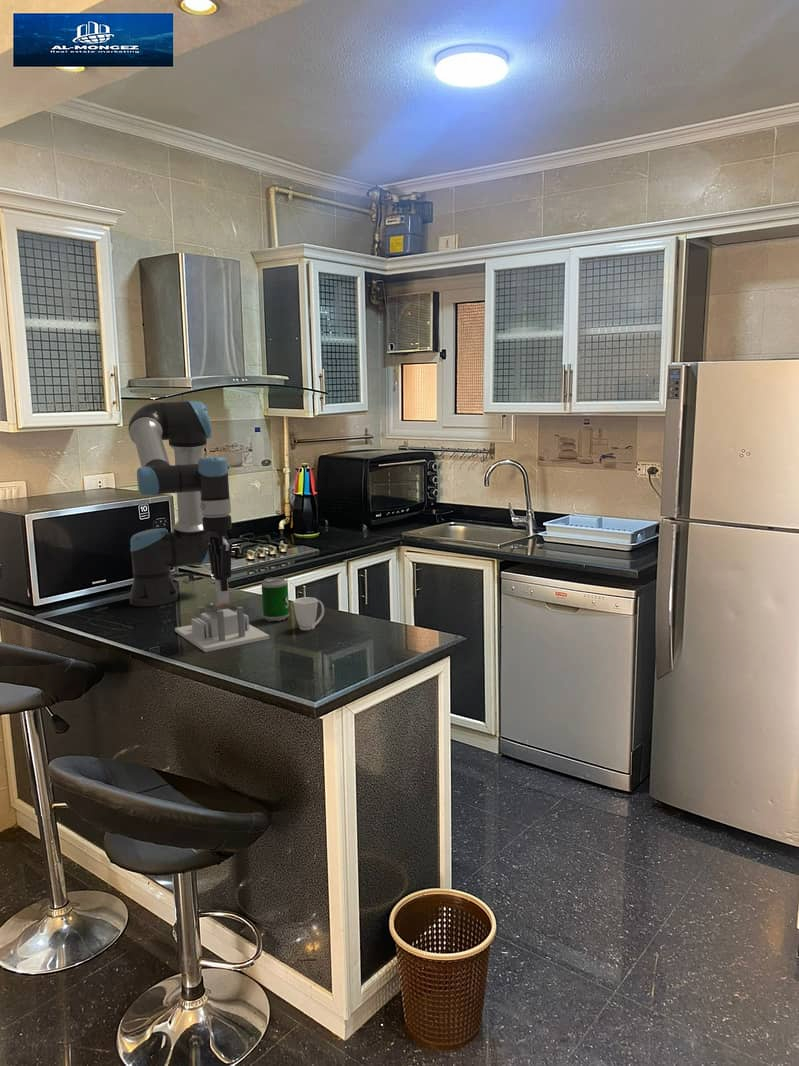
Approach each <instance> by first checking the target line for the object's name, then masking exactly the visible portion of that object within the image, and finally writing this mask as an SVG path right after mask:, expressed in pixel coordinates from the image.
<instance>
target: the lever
mask: <svg viewBox="0 0 799 1066" xmlns="http://www.w3.org/2000/svg"><path fill="white" fill-rule="evenodd" d="M233 608H234V605H233V604H231V602H230V601H229V602H226V603H218V602H211V603H206V604H204V609H214V610H217V609H233Z"/></svg>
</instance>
